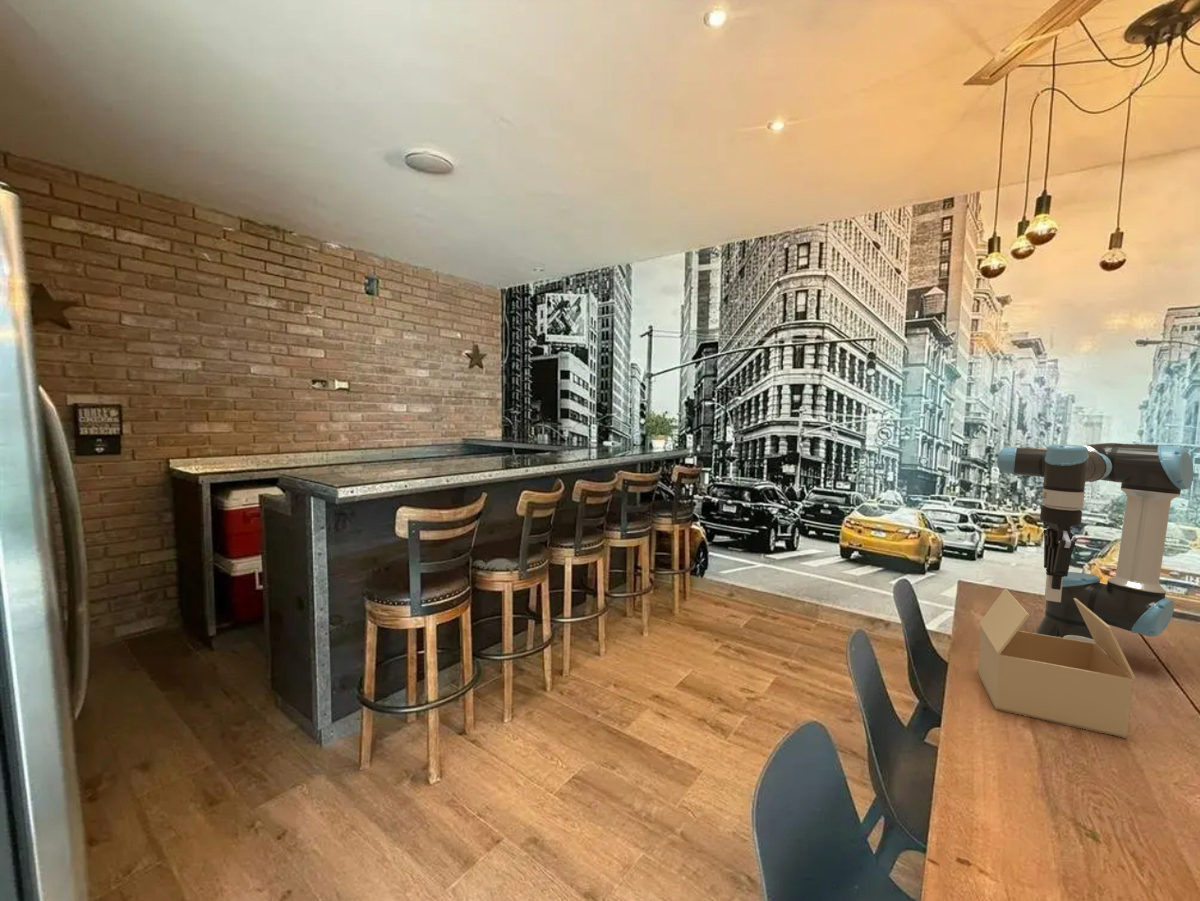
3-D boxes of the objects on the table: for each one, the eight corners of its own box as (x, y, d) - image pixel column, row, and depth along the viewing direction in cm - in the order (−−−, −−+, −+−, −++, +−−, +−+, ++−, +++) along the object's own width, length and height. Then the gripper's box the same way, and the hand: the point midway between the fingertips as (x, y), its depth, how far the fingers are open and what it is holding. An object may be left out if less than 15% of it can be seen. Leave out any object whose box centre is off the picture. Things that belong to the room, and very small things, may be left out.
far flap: (999, 654, 124) (997, 652, 124) (981, 623, 141) (979, 622, 141) (1029, 615, 120) (1027, 614, 121) (1006, 589, 138) (1005, 588, 138)
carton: (1089, 694, 132) (1094, 643, 131) (1126, 738, 114) (1133, 679, 113) (977, 672, 143) (980, 624, 141) (995, 709, 125) (999, 655, 123)
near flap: (1095, 642, 131) (1097, 642, 130) (1132, 678, 113) (1135, 678, 113) (1073, 598, 132) (1075, 597, 132) (1107, 627, 114) (1110, 626, 114)
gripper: (1033, 501, 131) (1025, 589, 133) (1051, 510, 120) (1042, 606, 122) (1071, 504, 128) (1062, 594, 130) (1093, 513, 116) (1083, 612, 118)
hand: (1052, 600), depth 126 cm, fingers closed
